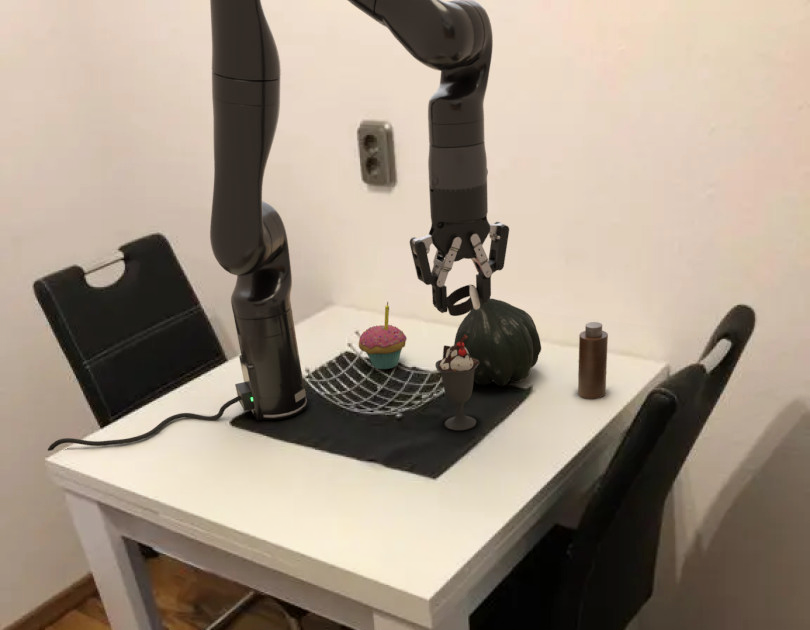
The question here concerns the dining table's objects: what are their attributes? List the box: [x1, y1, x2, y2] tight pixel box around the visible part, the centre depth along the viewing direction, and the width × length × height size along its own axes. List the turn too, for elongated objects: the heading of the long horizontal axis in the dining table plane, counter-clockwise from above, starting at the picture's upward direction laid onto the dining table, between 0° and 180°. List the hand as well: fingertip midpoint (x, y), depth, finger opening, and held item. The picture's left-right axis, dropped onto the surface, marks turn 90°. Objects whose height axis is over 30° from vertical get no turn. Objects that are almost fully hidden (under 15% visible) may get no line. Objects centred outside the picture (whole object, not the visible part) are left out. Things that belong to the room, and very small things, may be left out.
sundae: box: [434, 335, 480, 432], centre depth 139 cm, size 7×7×15 cm
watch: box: [447, 284, 480, 317], centre depth 126 cm, size 8×5×4 cm, turn 168°
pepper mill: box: [577, 321, 609, 400], centre depth 145 cm, size 4×4×12 cm
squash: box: [453, 297, 542, 387], centre depth 153 cm, size 14×15×15 cm
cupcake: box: [358, 301, 407, 370], centre depth 162 cm, size 9×8×12 cm
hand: (462, 306), depth 126 cm, fingers closed on watch, 5 cm apart
